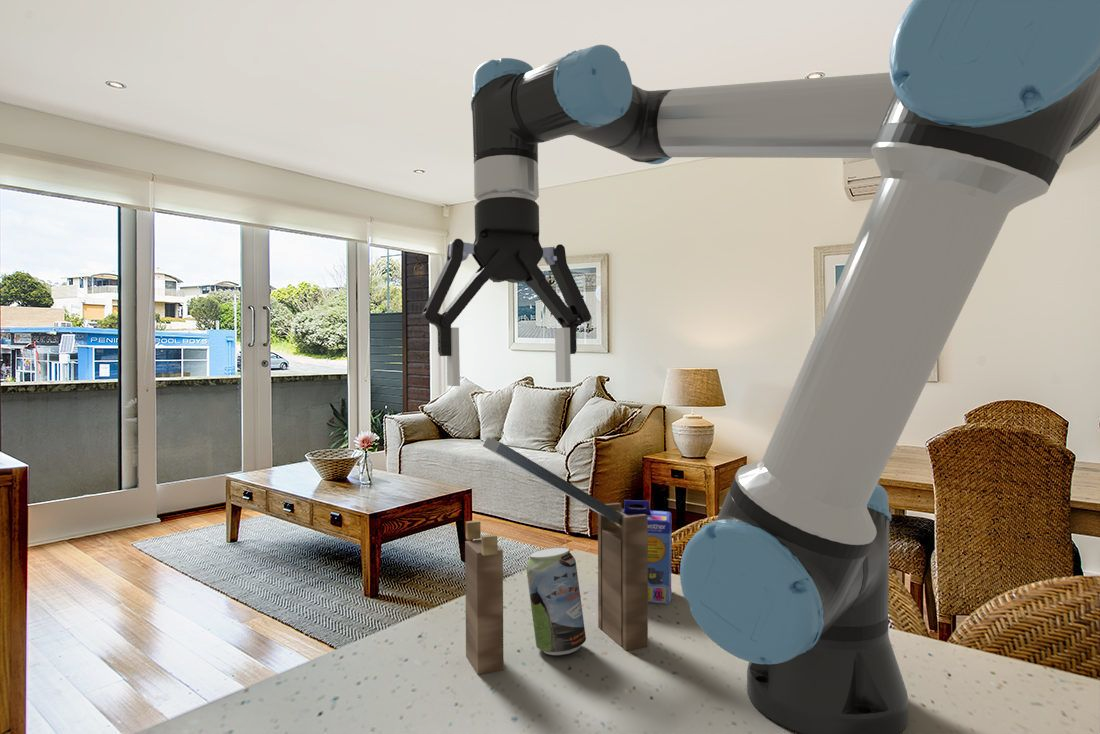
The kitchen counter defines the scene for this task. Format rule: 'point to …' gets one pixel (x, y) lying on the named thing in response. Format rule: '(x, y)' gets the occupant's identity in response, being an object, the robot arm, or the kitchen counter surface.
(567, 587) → the beverage can
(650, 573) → the ink cartridge box
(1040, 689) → the kitchen counter surface
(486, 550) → the can clamp frame
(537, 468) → the grey bridge beam
